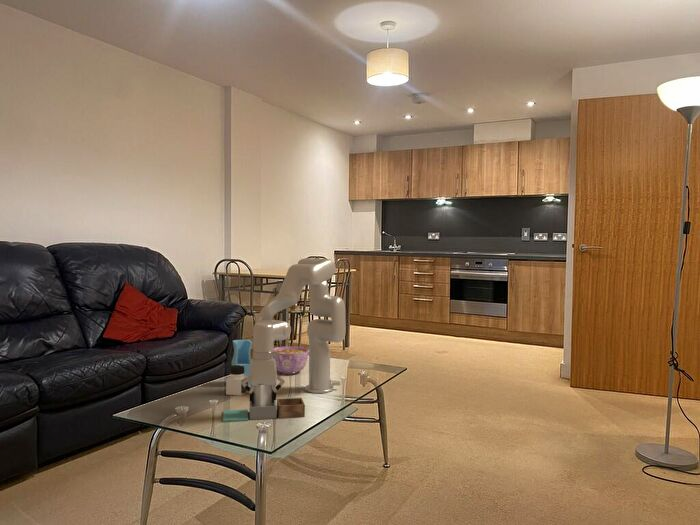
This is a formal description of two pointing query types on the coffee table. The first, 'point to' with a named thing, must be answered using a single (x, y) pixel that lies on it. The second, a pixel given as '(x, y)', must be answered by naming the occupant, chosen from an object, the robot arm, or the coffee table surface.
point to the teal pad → (235, 415)
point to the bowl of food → (290, 359)
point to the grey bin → (263, 411)
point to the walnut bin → (290, 407)
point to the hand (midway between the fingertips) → (262, 402)
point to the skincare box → (262, 396)
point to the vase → (242, 355)
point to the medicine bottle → (236, 381)
